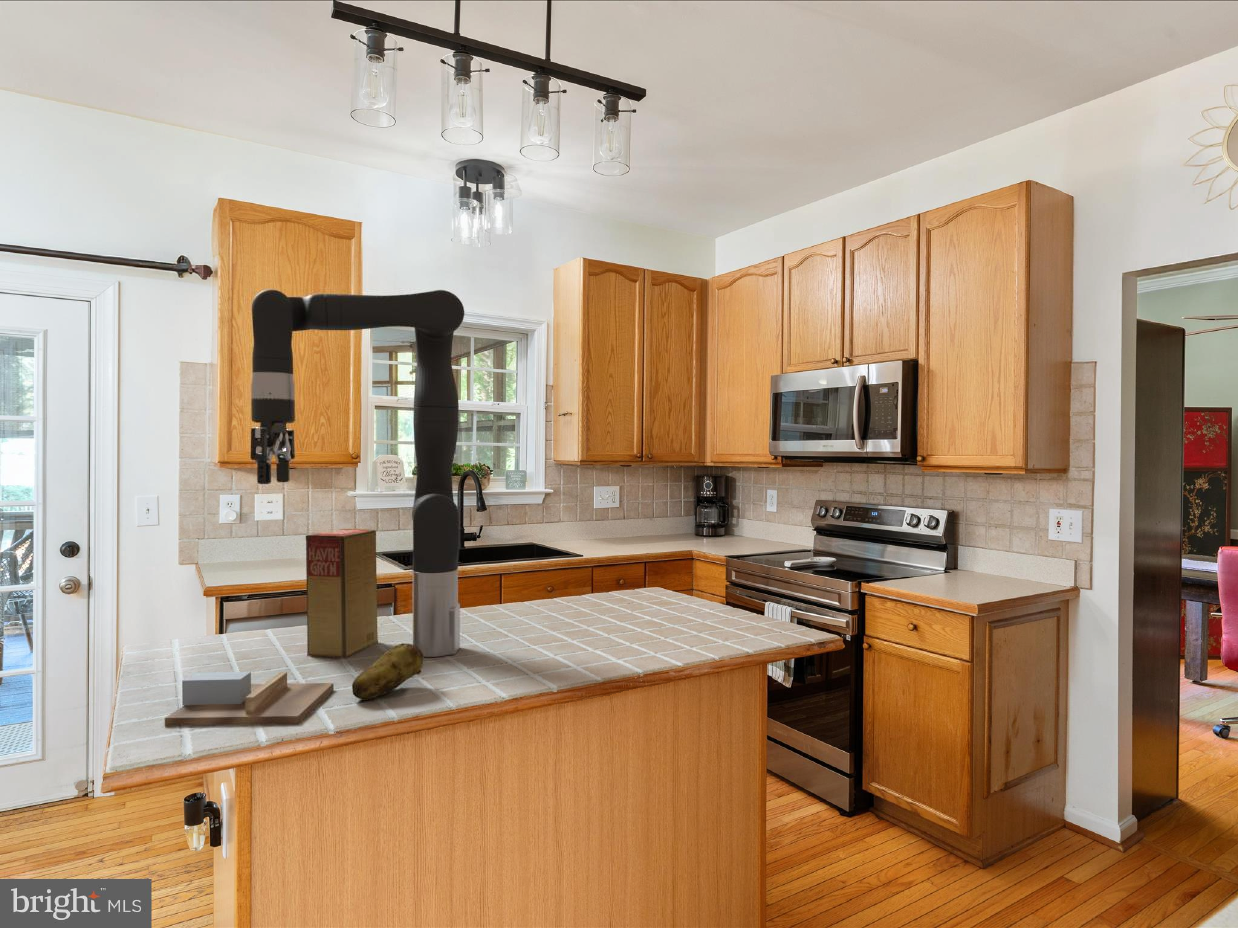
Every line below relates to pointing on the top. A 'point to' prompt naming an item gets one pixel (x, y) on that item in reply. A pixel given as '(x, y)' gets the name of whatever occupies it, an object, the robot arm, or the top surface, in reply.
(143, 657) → the top surface
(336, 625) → the food packaging
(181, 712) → the board
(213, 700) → the block
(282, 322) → the robot arm
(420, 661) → the potato
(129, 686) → the top surface
